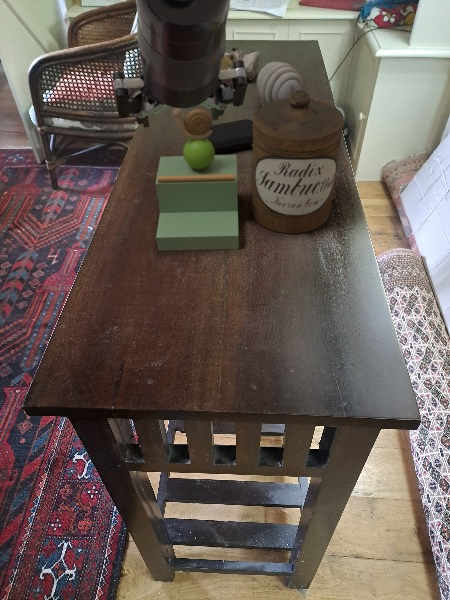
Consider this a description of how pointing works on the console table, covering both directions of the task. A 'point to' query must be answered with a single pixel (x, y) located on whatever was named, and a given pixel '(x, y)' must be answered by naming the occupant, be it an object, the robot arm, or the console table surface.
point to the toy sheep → (277, 82)
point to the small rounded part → (196, 137)
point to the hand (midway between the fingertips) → (179, 116)
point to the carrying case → (231, 135)
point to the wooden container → (295, 162)
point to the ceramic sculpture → (249, 60)
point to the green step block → (197, 204)
